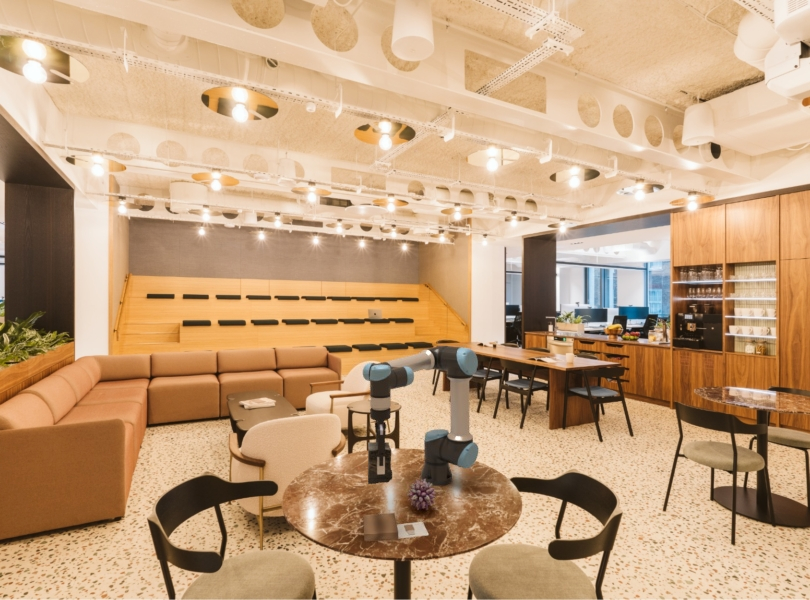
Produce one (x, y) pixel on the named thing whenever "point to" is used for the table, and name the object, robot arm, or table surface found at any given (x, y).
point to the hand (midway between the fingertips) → (380, 469)
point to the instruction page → (411, 530)
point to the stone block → (372, 464)
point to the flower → (421, 494)
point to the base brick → (380, 527)
